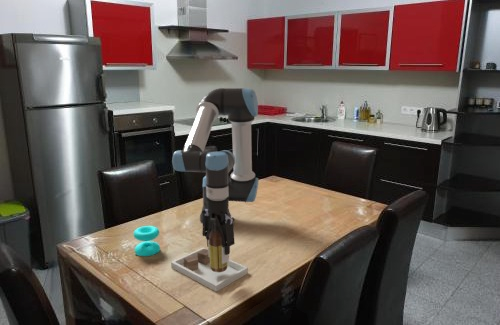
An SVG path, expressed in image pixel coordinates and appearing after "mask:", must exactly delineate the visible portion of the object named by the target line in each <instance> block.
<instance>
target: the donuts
mask: <svg viewBox="0 0 500 325" xmlns="http://www.w3.org/2000/svg"><path fill="white" fill-rule="evenodd" d="M159 235H160V230H159V228H158V227H156V226H154V225H144V226H143V225H142V226H140V227H137V228H136V229H135V230H134V231H133V238H134V239H136V240H137V241H140V243H138V244H136V246H135V248H134V254H135V255H137V256H138V257H150V256H155V255H157V254H158V253H159V252H160V251H161V246H160V244H159V243H158V242H157V241H154V240H155V239H156V238H158V236H159Z"/></svg>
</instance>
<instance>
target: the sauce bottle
mask: <svg viewBox="0 0 500 325" xmlns="http://www.w3.org/2000/svg"><path fill="white" fill-rule="evenodd" d="M211 224H212V228H211V229H212V230H211V231H210V233H209V253H210V267H211V270H212V271H214V272H223V271H225V270H226V269H227V264H228V262H226V263H224V264H223V263H222V246H223V241H222V237H221V233H220V229H219V228H218V225H217V220H216V219H215V218H214V217H213V218H211Z"/></svg>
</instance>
